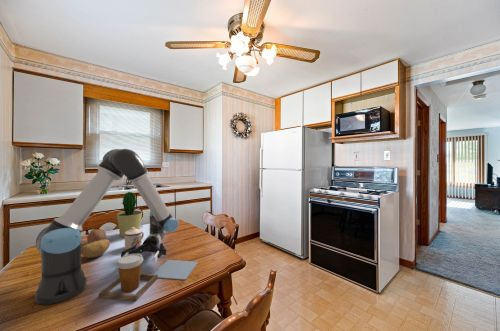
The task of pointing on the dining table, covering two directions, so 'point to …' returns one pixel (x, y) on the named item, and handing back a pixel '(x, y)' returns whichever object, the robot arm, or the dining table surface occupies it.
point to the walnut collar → (123, 296)
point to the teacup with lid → (133, 237)
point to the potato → (95, 248)
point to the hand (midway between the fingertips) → (138, 260)
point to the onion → (96, 235)
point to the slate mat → (176, 269)
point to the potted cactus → (129, 214)
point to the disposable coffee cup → (130, 271)
